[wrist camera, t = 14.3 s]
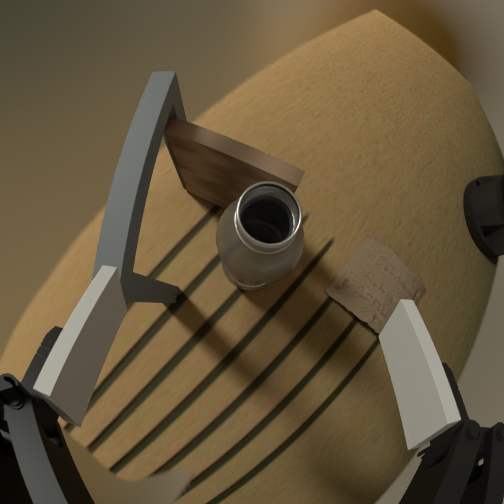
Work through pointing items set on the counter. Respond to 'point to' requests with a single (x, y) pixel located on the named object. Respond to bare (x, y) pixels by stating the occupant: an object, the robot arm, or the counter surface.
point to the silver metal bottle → (260, 236)
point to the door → (222, 163)
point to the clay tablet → (375, 284)
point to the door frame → (138, 190)
